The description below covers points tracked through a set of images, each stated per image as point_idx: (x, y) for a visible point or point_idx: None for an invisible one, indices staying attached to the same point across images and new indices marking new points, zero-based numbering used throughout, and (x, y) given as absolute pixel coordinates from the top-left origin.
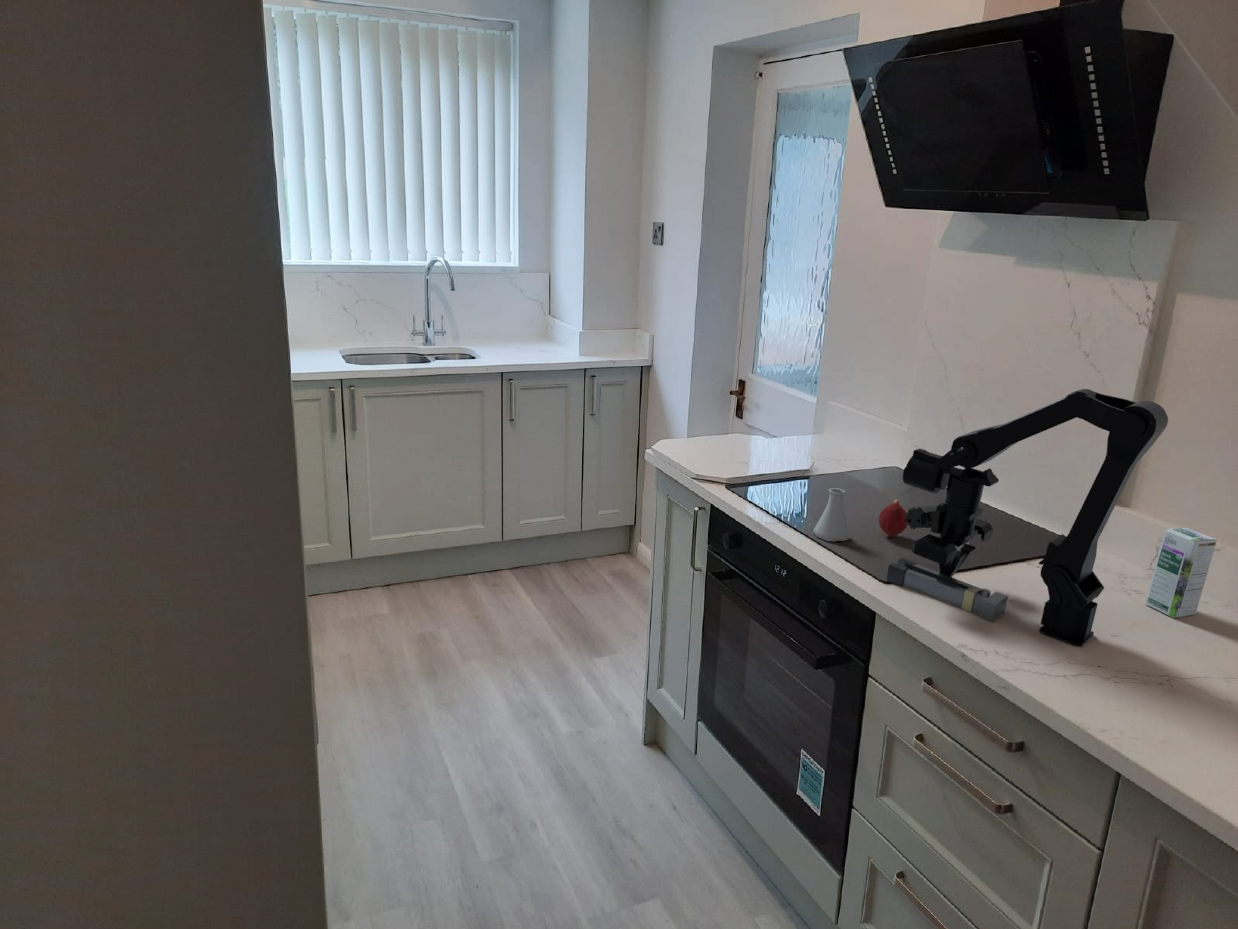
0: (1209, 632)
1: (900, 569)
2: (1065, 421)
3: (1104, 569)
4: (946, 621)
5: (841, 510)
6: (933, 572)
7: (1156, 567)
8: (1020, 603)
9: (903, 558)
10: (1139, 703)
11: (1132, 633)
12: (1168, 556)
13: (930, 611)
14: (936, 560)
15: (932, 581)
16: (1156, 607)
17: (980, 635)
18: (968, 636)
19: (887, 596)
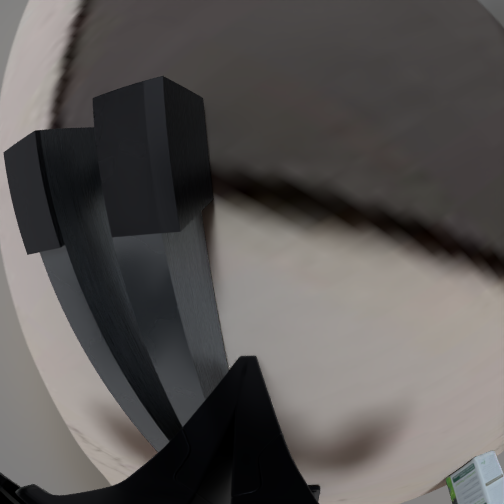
0: (427, 490)
1: (22, 230)
2: None
3: None
4: (91, 405)
5: None
6: (166, 373)
7: (486, 500)
8: (360, 451)
9: (153, 87)
10: None
11: (368, 498)
12: None
13: (79, 371)
14: (8, 484)
15: (109, 385)
16: (463, 469)
17: (126, 447)
18: (101, 435)
19: (14, 249)
